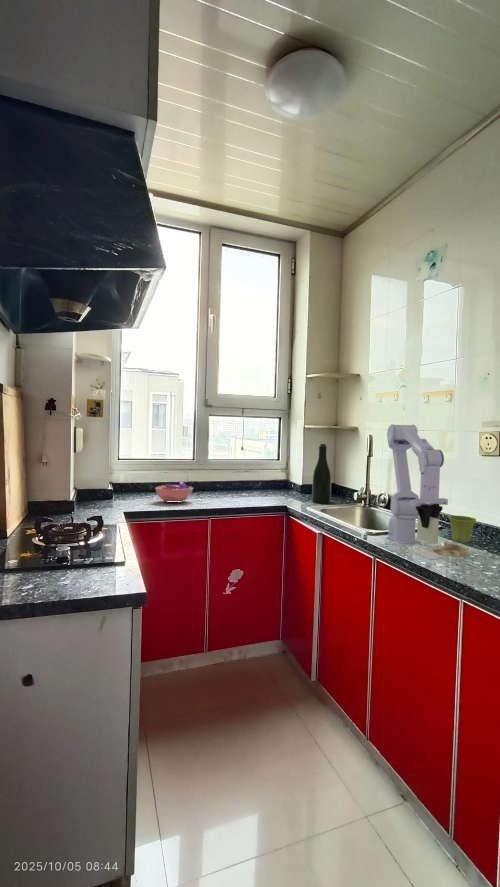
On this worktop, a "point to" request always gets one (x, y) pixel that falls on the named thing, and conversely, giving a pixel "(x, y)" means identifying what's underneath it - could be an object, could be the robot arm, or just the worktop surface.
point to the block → (428, 531)
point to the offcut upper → (442, 551)
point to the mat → (427, 554)
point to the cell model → (174, 492)
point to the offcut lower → (441, 554)
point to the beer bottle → (322, 478)
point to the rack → (454, 549)
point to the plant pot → (462, 528)
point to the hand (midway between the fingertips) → (428, 527)
